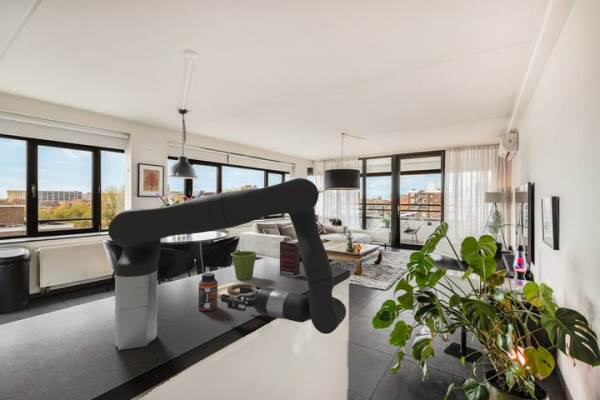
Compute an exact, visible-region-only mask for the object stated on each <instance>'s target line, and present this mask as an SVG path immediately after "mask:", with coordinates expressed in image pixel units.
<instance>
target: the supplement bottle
mask: <svg viewBox="0 0 600 400" xmlns="http://www.w3.org/2000/svg"><path fill="white" fill-rule="evenodd" d="M215 276H216V275H215V273H214V272H205V273H202V274H201V280H199V281H198V297H197V298H198V302H197V305H198V306H197V307H198V310H199V311H201V312H211V311H213V310H216V309H217V307H218V297H217V289H218V288H217V287H218V283H219V282H218V280H217V279H216V278H215Z"/></svg>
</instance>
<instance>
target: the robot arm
mask: <svg viewBox="0 0 600 400" xmlns="http://www.w3.org/2000/svg"><path fill="white" fill-rule="evenodd" d="M318 201H319V188H318V187H317V186H316V184H315V183H314V182H313V181H312V180H310V179H307V178H301V177H298V178H293V179H290V180H285V181H284V182H279V183H275V184H272V185H269V186H268V185H267V186H264V187H260V188H251V189H241V190H234V191H226V192H221V193H216V194H215V193H214V194H211V195H204V196H201V197H200V196H199V197H197V198H193V199H190V200H186V201H182V202H179V203H175V204H172V205H169V206H164V207H154V208H133V209H132V208H131V209H126V210H123V211H120V212H119V213H118V214H116V215H115V216H114V217H113V218H112V219H111V220H110V222H109V224H108V228H107V233H108V235H109V238H110V239H111V241H112V242H114V243H115V244H117V245H119V246H120V247H121V246H122V253H121V255H120V257H119V259H118V260H117V262H115V271H114V272H115V279H114V281H115V286H114V290H115V292H114V294H115V295H114V299H115V300H114V340H115V341H114V344H115V345H114V346H115V347H116V348H117V350H118V351H123V350H129V349H134V348H135V349H136V348H141V347H148V345H149V344H150V343H151V342H153V341H154V340H156V338H157V334H158V317H157V316H158V263H159V260H160V257H161V241H162V239H165V238H168V237H174V236H181V235H192V234H193V235H194V234H201V233H208V232H216V231H221V230H225V229H230V228H231V229H232V228H235V227H238V226H242V225H246V224H248V223H251V222H253V221H256V220H260V219H262V218H265V217H269V216H274V215H275V216H276V215H284V214H288V215H289V219H290V221H291V223H292V226H293V229H294V232H295V236H296V239H297V242H298V244H299V248H300V257H301V258H300V259H301V263H302V266H303V271H304V275H305V279H306V283H307V287H308V295H304V294H300V293H294V292H289V291H287V290H284V289H277V288H272V287H267V286H260V285H259V286H258V285H256V287H255V288H254V287H251V288H248V287H243V286H242V287H240V294H239V295H238V296H231V295H226V294H222V295H221V297H220V302H222V303H223V304H227V305H226V307H227V309H230V310H236V311H240V312H245V311H246V309H247V307H248V308H254V309H255V311H256V312H257V313H258V314H259V315H264V316H267V317H272V318H276V319H281V320H288V321H293V322H295V323H305V322H308V321H311V323H312V325H313V327H314V328H315V329H316V331H318V332H319V333H320V334H323V335H327V334H331V333H333V332H334V331H335V330H336V329H338V327H339V326H340V325H341V323H342V322H343V321H344V320H345V318H346V316H347V308H346V306H345V304H344V303H343V301H342V300H340V299H339V298H337V297H334V296H333V290H334V287H335V278H334V274H333V271H332V267H331V263H330V260H329V256H328V253H327V250H326V248H325V245H324V243H323V240H322V237H321V236H320V232H319V229H318V225H317V222H316V215H315V206H317V203H318ZM259 289H260V290H259ZM241 297H243V300H241ZM237 299H238V300H237Z"/></svg>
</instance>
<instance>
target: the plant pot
mask: <svg viewBox="0 0 600 400" xmlns="http://www.w3.org/2000/svg"><path fill="white" fill-rule="evenodd" d="M257 255H258V252H257V251H252V250H241V251H235V252H232V253H230V256H231V258H232V261H233V262H232V263H233V268H234V273H235V279H236V280H239V281H242V280H245V281H247V280H251V279H252V278H253V277H254V270H255V269H254V268H255V263H256V258H257Z"/></svg>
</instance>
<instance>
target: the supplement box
mask: <svg viewBox="0 0 600 400" xmlns="http://www.w3.org/2000/svg"><path fill="white" fill-rule="evenodd" d="M300 257H301V253H300V248H299V244H298V241H293V240H292V241H290V240H283V241H279V275H280V276H282V275H284V276H283V277H288V276H289V278H297V277H299V276H300V273H301V272H300V271H301V269H300V266H301V265H300V260H301V258H300Z"/></svg>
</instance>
